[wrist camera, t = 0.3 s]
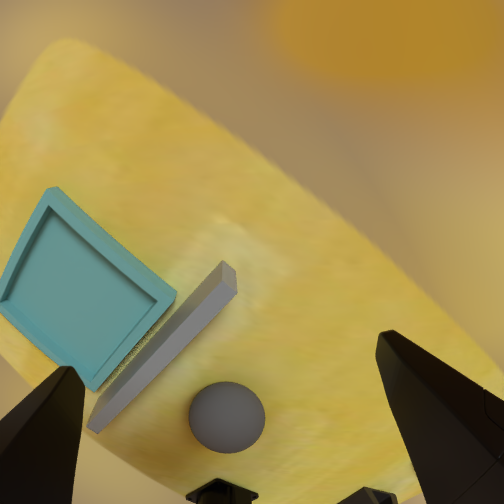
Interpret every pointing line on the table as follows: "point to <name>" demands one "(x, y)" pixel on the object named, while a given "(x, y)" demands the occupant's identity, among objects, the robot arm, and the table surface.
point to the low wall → (166, 344)
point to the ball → (226, 417)
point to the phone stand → (370, 497)
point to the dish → (79, 290)
